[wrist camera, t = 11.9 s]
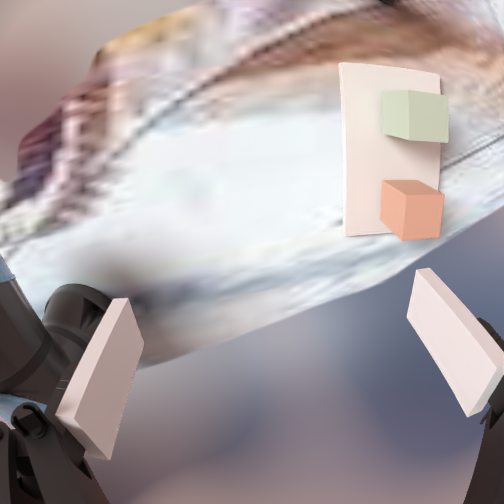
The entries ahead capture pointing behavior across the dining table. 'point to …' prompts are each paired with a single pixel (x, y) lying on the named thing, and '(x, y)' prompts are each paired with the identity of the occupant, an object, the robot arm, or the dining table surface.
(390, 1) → the grey curved bar
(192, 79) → the dining table surface
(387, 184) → the stand
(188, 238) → the dining table surface
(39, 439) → the robot arm
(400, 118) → the pale green block
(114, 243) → the dining table surface
